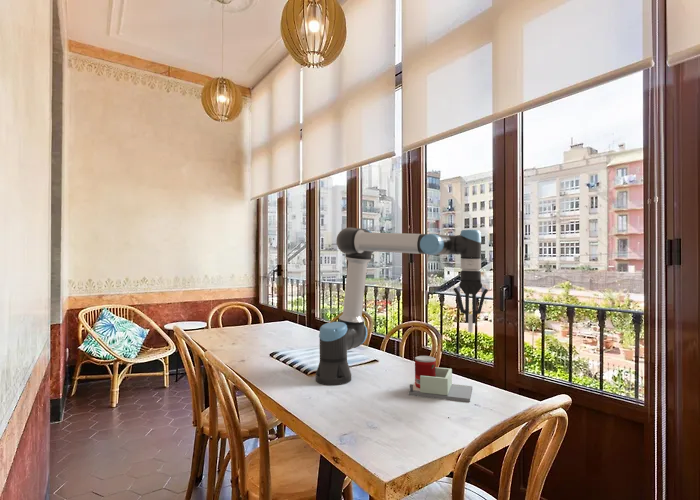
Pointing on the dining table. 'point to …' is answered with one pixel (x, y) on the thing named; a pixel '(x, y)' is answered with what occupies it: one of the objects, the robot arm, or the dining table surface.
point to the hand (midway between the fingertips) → (470, 331)
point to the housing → (437, 382)
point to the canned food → (424, 368)
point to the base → (454, 393)
